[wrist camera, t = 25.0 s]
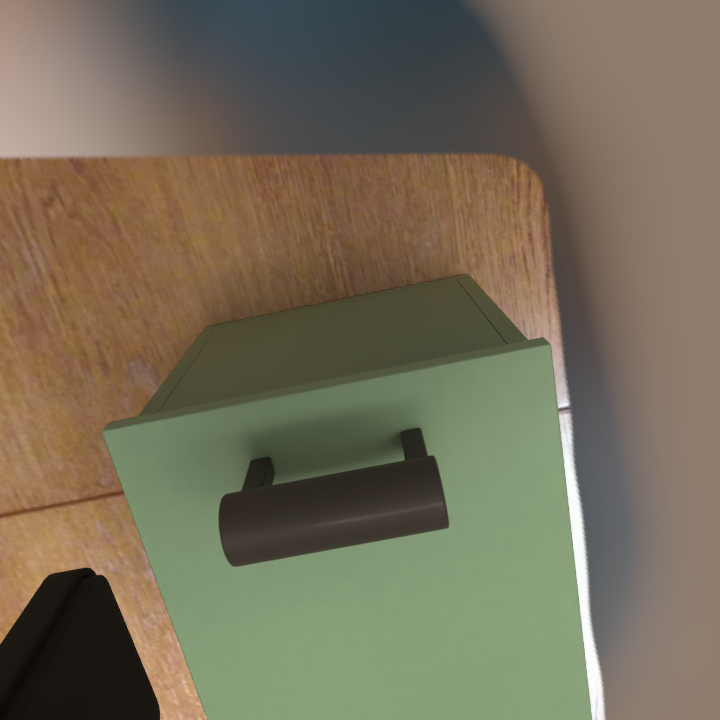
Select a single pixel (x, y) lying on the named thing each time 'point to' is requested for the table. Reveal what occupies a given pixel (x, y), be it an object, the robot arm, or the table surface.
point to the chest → (335, 341)
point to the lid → (368, 543)
